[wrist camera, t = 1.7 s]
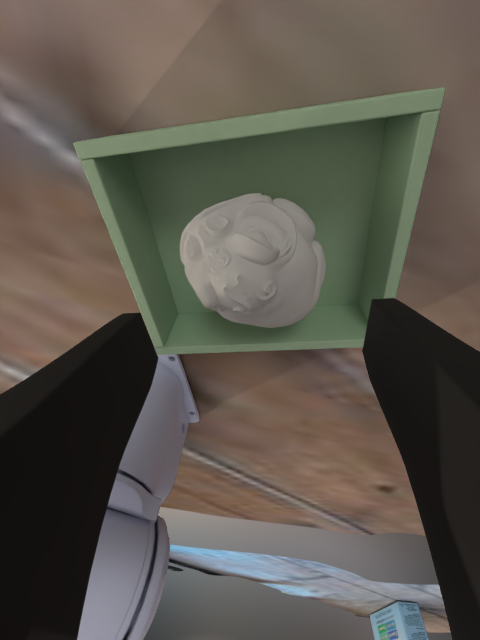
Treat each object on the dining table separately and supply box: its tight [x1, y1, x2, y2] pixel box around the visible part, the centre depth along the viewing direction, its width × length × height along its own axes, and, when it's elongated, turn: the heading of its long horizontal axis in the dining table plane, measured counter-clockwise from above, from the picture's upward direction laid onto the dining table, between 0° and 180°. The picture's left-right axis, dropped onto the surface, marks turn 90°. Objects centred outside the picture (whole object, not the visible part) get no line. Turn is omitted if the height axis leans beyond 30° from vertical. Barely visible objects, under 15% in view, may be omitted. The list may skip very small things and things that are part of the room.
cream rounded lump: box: [180, 193, 326, 328], centre depth 13 cm, size 6×7×7 cm
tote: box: [74, 87, 445, 355], centre depth 15 cm, size 11×13×4 cm
